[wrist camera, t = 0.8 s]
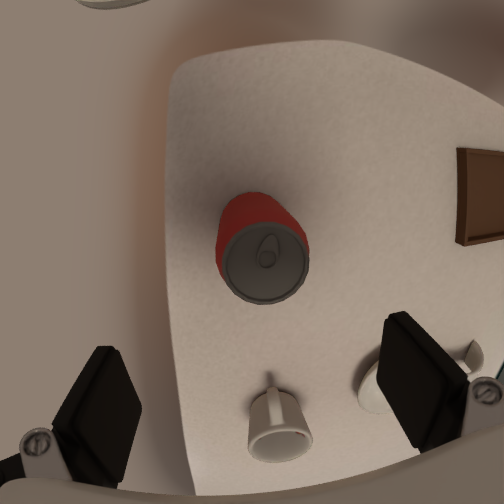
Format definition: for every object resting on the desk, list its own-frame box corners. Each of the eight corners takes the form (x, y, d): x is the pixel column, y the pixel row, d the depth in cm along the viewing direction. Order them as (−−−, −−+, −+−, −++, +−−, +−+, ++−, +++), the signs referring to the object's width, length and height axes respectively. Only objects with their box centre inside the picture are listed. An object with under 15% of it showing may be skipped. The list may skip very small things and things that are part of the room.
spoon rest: (344, 404, 39) (358, 439, 33) (359, 343, 36) (380, 377, 29) (460, 375, 41) (480, 398, 34) (481, 319, 37) (507, 341, 30)
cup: (237, 373, 36) (239, 420, 28) (299, 364, 36) (313, 408, 28) (249, 424, 39) (252, 466, 32) (302, 416, 39) (313, 457, 32)
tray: (456, 147, 29) (466, 148, 27) (515, 153, 29) (524, 155, 27) (455, 242, 32) (464, 246, 31) (512, 232, 33) (521, 235, 31)
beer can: (291, 197, 30) (328, 223, 18) (278, 259, 32) (304, 317, 20) (225, 186, 29) (221, 205, 17) (215, 250, 31) (207, 305, 19)
